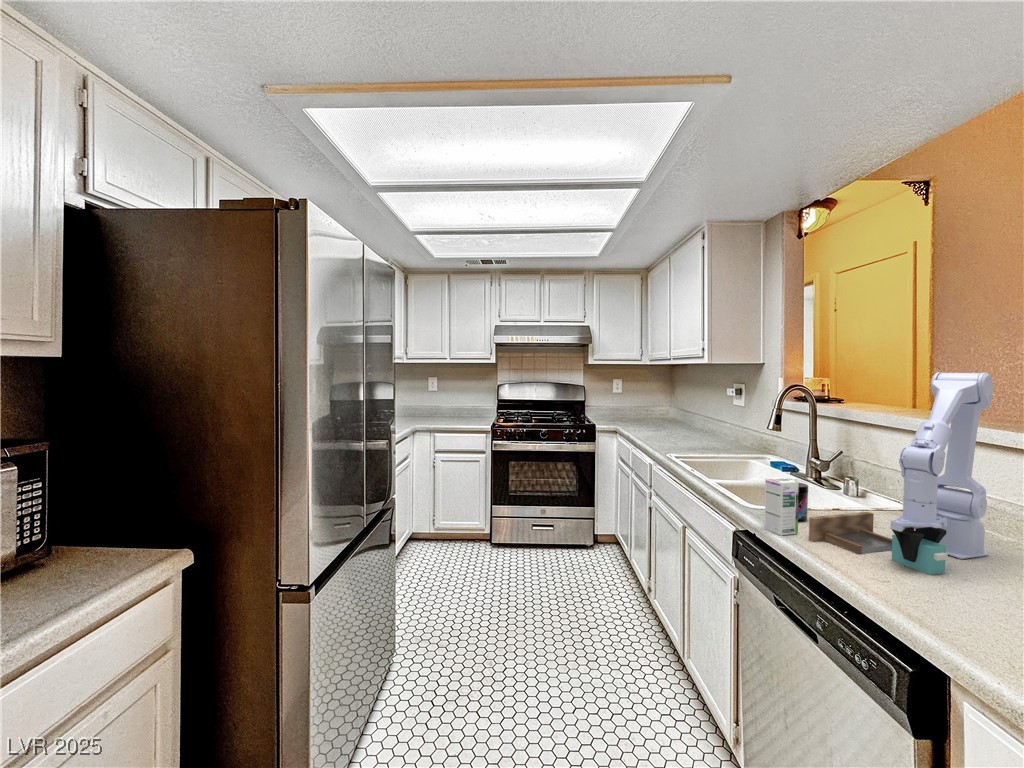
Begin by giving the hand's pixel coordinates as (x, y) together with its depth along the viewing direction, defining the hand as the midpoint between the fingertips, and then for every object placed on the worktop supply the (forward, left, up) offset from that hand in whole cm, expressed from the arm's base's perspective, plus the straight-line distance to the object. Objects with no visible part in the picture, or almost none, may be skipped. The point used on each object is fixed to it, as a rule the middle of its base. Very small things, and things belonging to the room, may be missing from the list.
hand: (917, 559), depth 105 cm
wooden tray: (0, -13, -2) cm, 13 cm away
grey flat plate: (0, -13, -2) cm, 13 cm away
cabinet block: (0, 0, -2) cm, 2 cm away
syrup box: (+12, -26, -2) cm, 29 cm away
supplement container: (-1, -34, -2) cm, 34 cm away
